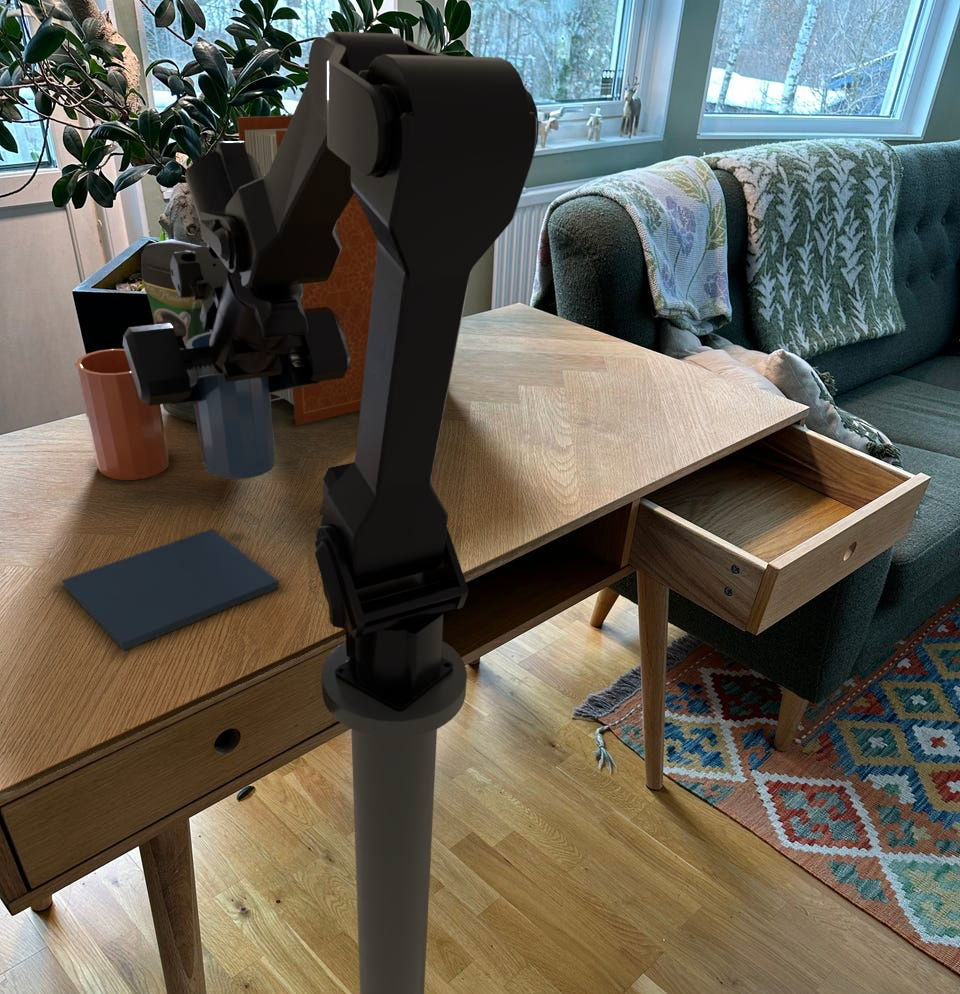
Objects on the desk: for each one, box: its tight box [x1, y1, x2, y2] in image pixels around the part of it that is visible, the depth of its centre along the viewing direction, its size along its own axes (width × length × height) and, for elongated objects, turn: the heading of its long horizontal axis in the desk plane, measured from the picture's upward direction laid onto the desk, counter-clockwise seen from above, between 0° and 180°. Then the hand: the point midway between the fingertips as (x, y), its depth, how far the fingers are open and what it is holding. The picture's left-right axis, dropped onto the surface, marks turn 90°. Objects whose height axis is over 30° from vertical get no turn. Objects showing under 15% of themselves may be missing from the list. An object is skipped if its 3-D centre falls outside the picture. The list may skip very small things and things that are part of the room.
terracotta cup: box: [74, 348, 170, 481], centre depth 89 cm, size 7×7×11 cm
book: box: [236, 115, 377, 426], centre depth 102 cm, size 23×8×30 cm, turn 129°
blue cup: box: [186, 332, 277, 480], centre depth 84 cm, size 7×7×12 cm
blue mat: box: [61, 528, 279, 651], centre depth 75 cm, size 14×11×1 cm
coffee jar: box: [140, 238, 210, 424], centre depth 98 cm, size 10×8×19 cm
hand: (228, 394), depth 85 cm, fingers closed on blue cup, 7 cm apart
